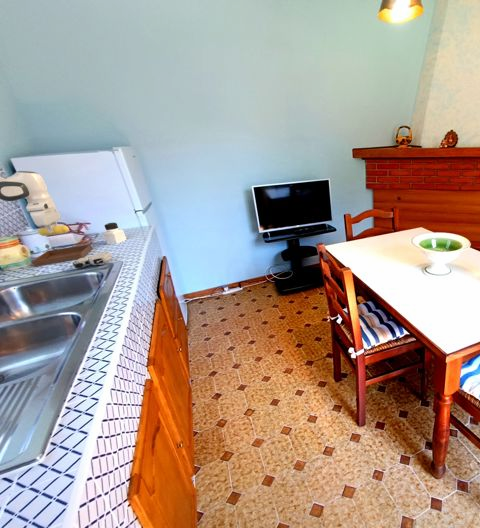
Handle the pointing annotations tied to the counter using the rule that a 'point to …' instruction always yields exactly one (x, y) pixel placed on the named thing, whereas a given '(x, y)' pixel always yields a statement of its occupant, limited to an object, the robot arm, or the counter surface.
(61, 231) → the corn cob
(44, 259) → the tray
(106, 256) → the robot toy
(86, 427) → the counter surface
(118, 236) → the medicine bottle
